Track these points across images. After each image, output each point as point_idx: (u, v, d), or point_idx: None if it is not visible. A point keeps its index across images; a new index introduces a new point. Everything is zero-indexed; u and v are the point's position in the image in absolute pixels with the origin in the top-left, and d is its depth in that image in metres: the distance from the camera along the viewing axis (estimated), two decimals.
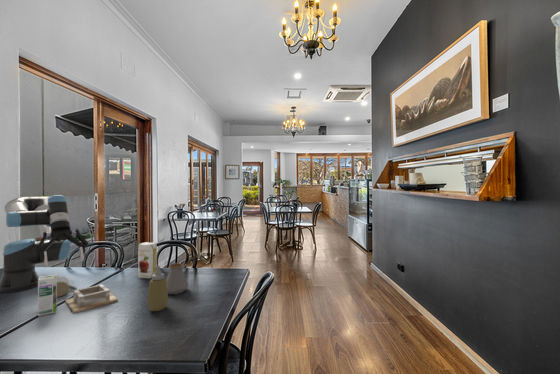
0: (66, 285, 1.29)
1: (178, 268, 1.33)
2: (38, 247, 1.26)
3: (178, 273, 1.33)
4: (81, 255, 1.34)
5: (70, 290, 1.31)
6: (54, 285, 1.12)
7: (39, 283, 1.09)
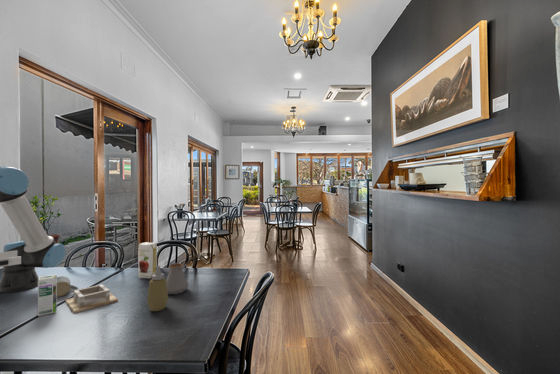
0: (67, 285, 1.29)
1: (178, 268, 1.33)
2: None
3: (178, 273, 1.33)
4: None
5: (71, 290, 1.31)
6: (54, 285, 1.12)
7: (39, 283, 1.09)
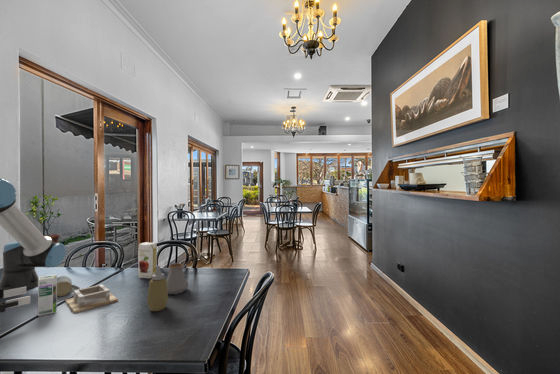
0: (69, 284, 1.29)
1: (178, 268, 1.33)
2: None
3: (178, 273, 1.33)
4: None
5: (73, 289, 1.31)
6: (54, 285, 1.12)
7: (39, 283, 1.09)
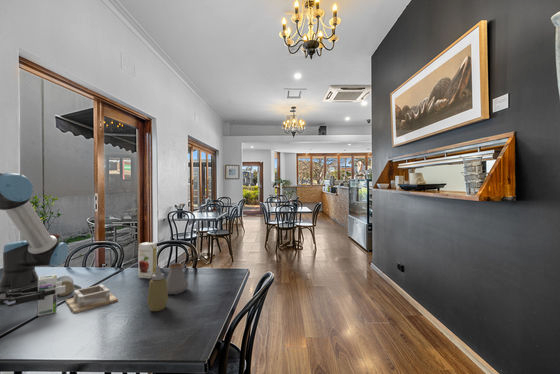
0: (71, 284, 1.30)
1: (178, 268, 1.33)
2: None
3: (178, 273, 1.33)
4: None
5: (75, 289, 1.32)
6: (54, 285, 1.12)
7: (39, 283, 1.09)
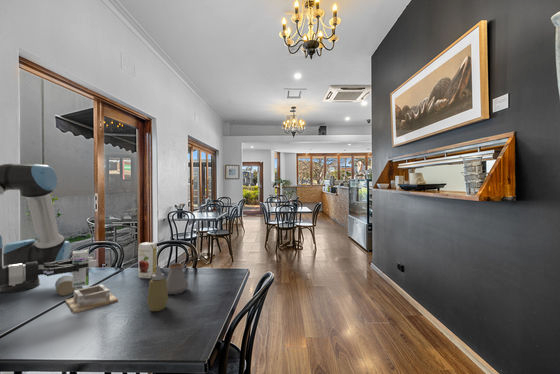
0: None
1: (178, 268, 1.33)
2: None
3: (178, 273, 1.33)
4: None
5: (76, 289, 1.32)
6: (87, 259, 1.18)
7: (73, 256, 1.16)
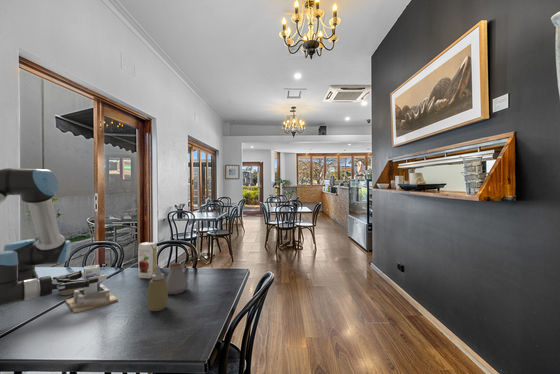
0: None
1: (178, 268, 1.33)
2: None
3: (178, 273, 1.33)
4: None
5: (78, 288, 1.33)
6: (98, 274, 1.22)
7: (85, 272, 1.20)
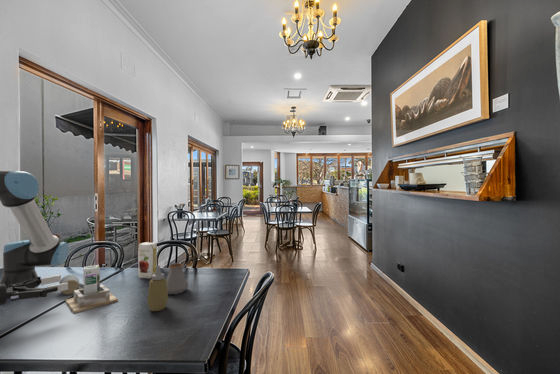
0: (76, 283, 1.31)
1: (178, 268, 1.33)
2: None
3: (178, 273, 1.33)
4: None
5: (80, 288, 1.33)
6: (98, 274, 1.22)
7: (85, 272, 1.19)
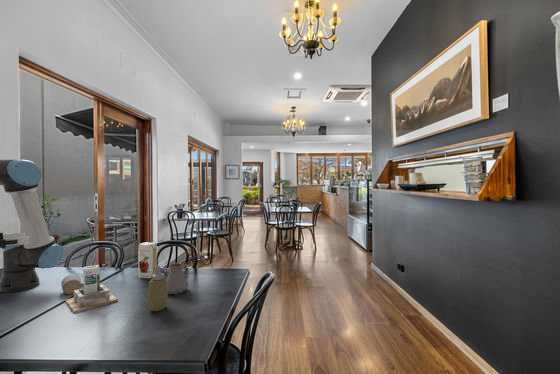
0: (78, 283, 1.32)
1: (178, 268, 1.33)
2: None
3: (178, 273, 1.33)
4: None
5: (82, 288, 1.34)
6: (98, 274, 1.22)
7: (85, 272, 1.19)
